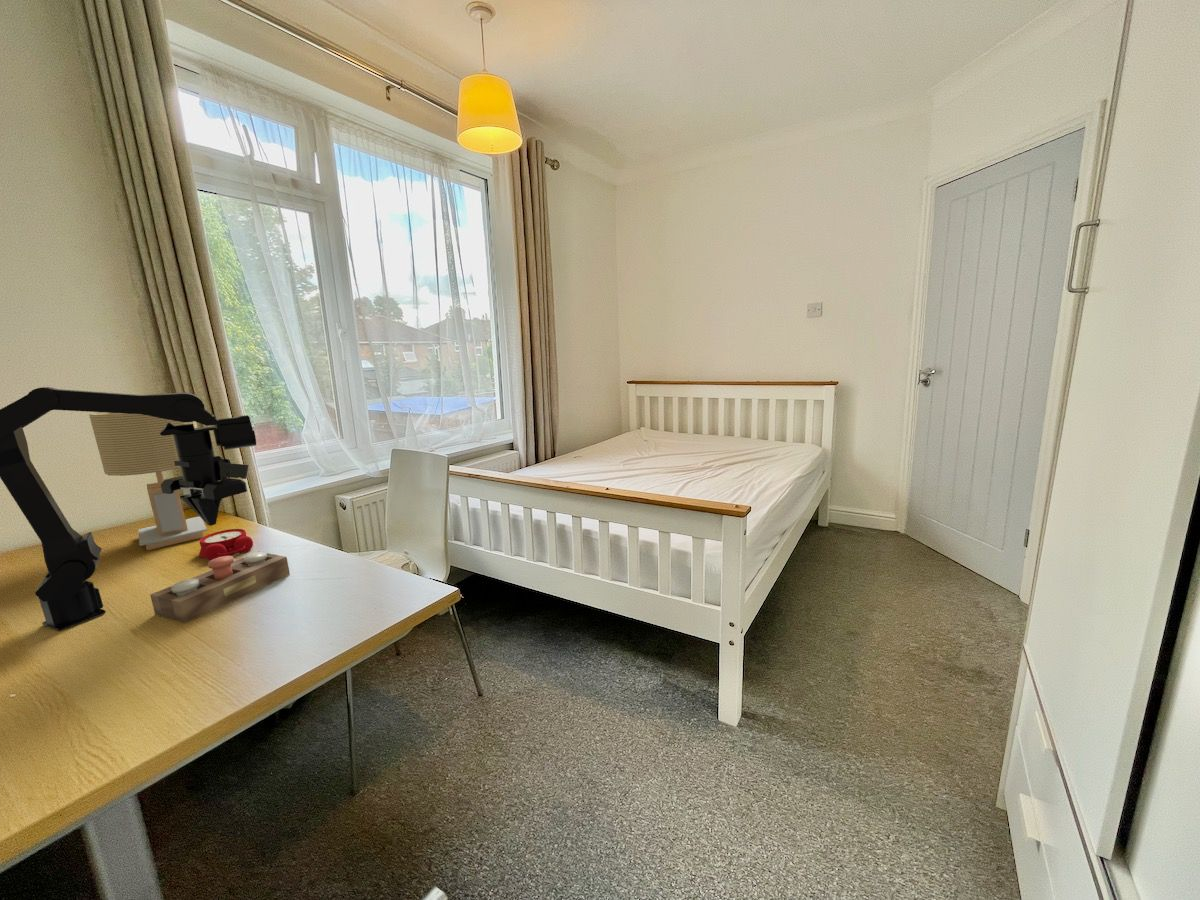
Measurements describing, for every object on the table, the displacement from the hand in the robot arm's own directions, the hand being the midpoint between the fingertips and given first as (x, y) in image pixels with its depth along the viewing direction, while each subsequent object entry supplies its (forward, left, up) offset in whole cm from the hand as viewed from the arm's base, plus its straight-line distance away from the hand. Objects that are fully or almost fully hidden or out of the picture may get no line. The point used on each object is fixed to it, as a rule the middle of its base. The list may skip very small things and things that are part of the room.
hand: (212, 524), depth 101 cm
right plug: (+2, -8, -12) cm, 15 cm away
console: (-4, -8, -12) cm, 15 cm away
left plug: (-10, -8, -12) cm, 18 cm away
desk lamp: (+12, +42, -13) cm, 45 cm away
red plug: (-4, -8, -10) cm, 14 cm away
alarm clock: (+10, +16, -13) cm, 23 cm away
